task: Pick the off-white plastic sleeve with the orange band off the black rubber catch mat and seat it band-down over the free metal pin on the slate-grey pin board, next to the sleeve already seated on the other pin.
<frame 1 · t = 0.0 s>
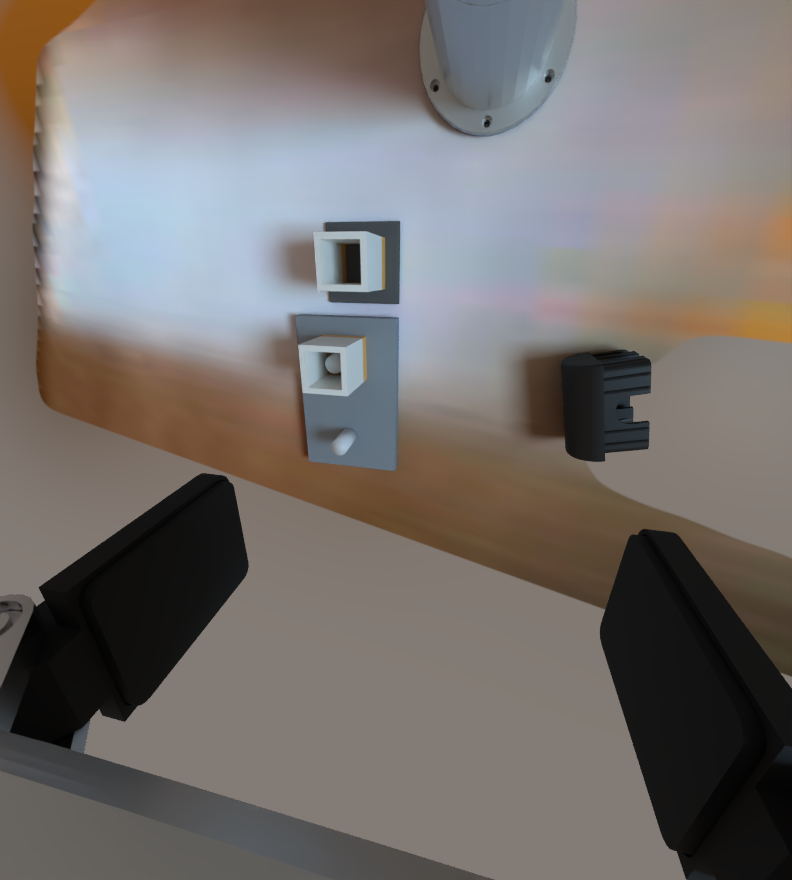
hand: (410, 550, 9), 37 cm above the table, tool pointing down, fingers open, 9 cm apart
catch mat: (363, 264, 41), on the table
seated sleeve: (346, 357, 44), point 1 cm above the table, touching pin board
pin board: (351, 394, 48), on the table
sleeve: (362, 264, 41), resting on catch mat
end cap: (591, 394, 42), on the table
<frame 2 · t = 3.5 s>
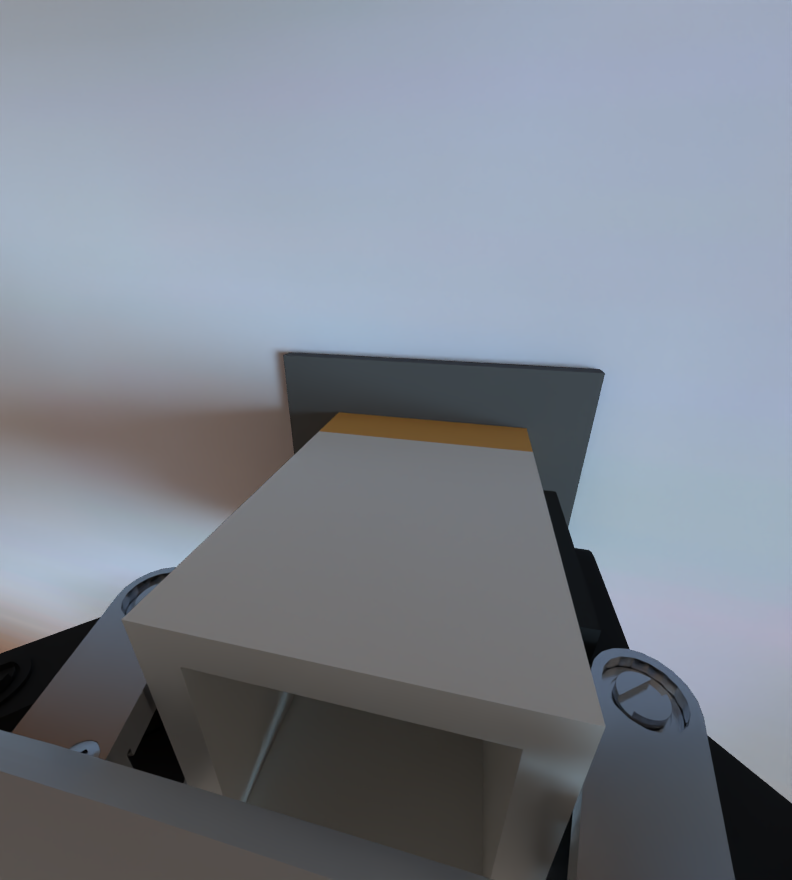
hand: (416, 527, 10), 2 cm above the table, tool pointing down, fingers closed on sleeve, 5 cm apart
catch mat: (426, 492, 11), on the table
sleeve: (424, 499, 11), resting on catch mat, touching gripper
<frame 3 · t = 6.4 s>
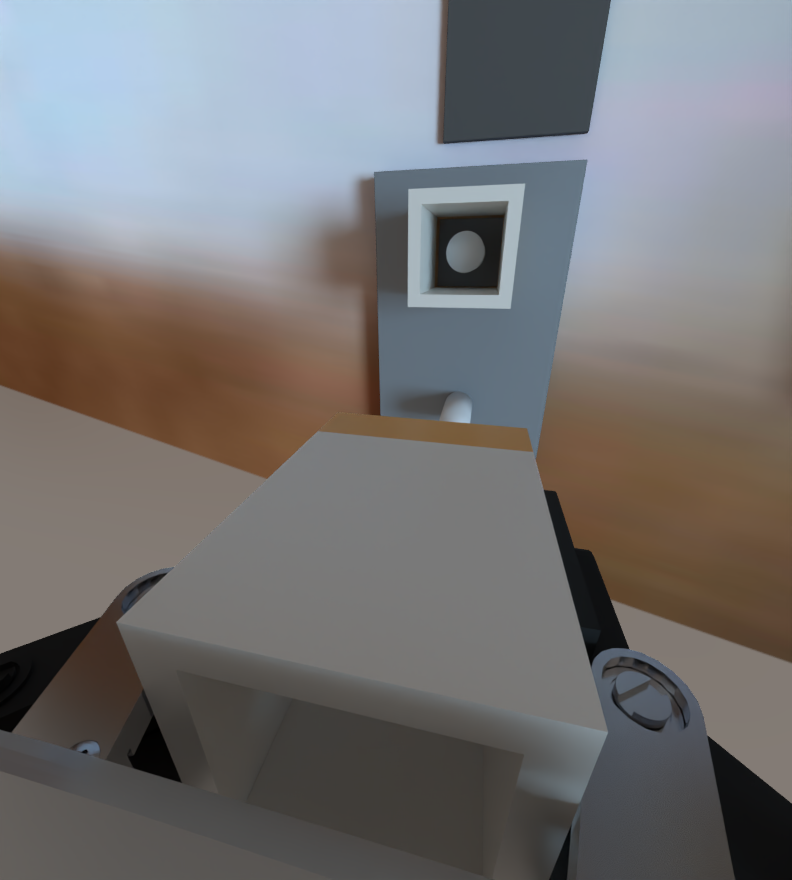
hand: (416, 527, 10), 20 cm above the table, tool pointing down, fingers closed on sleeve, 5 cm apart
catch mat: (522, 45, 20), on the table
seated sleeve: (468, 253, 24), point 1 cm above the table, touching pin board
pin board: (464, 331, 27), on the table
sleeve: (424, 500, 11), point 19 cm above the table, touching gripper
when the fingers open (4 cm above the table, at t = 9.6 s): sleeve drops 2 cm, resting on pin board.
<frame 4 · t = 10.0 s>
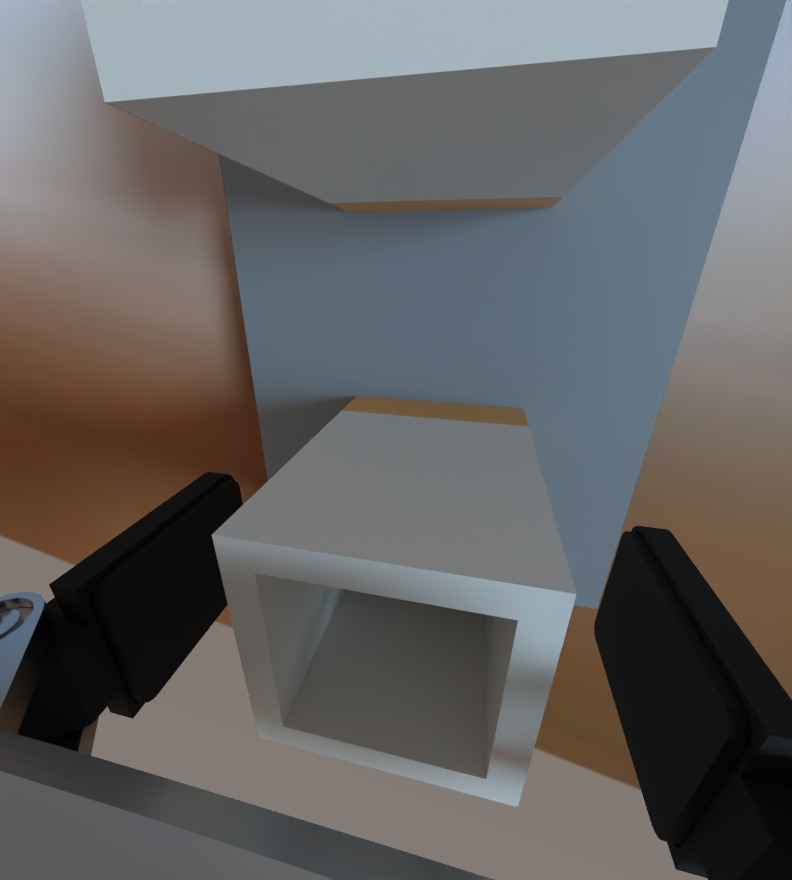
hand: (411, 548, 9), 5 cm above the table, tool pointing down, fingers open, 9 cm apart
seated sleeve: (452, 77, 8), point 1 cm above the table, touching pin board
pin board: (444, 311, 12), on the table
sleeve: (432, 474, 12), point 1 cm above the table, touching pin board
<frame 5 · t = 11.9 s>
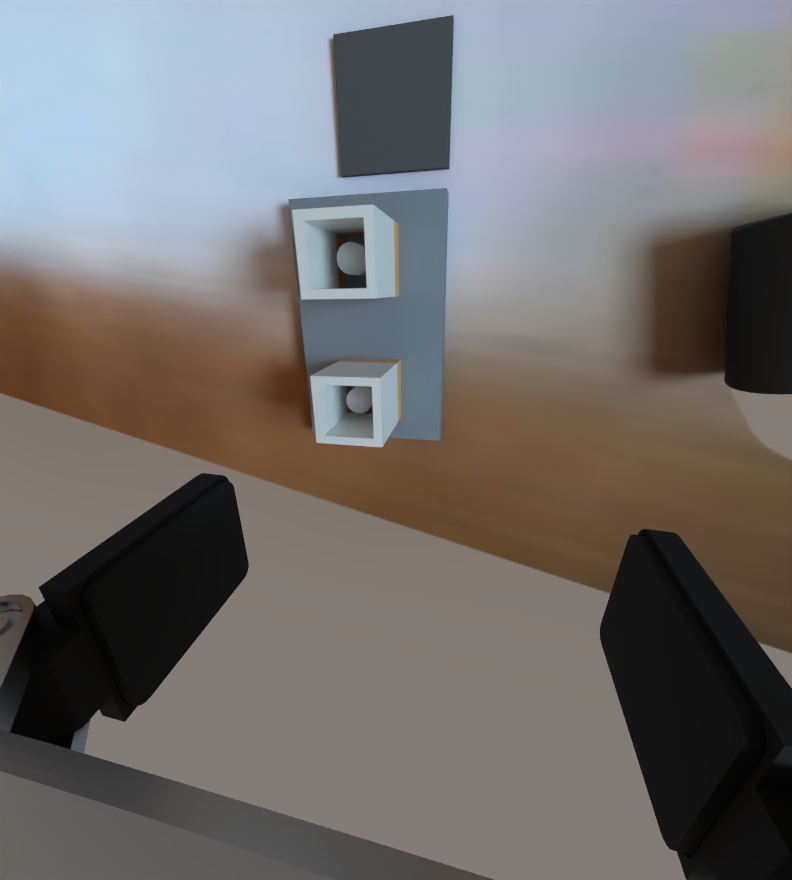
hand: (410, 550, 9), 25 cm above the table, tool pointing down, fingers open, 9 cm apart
catch mat: (393, 105, 26), on the table
seated sleeve: (366, 262, 29), point 1 cm above the table, touching pin board
pin board: (374, 327, 32), on the table
sleeve: (372, 388, 33), point 1 cm above the table, touching pin board
end cap: (760, 298, 26), on the table
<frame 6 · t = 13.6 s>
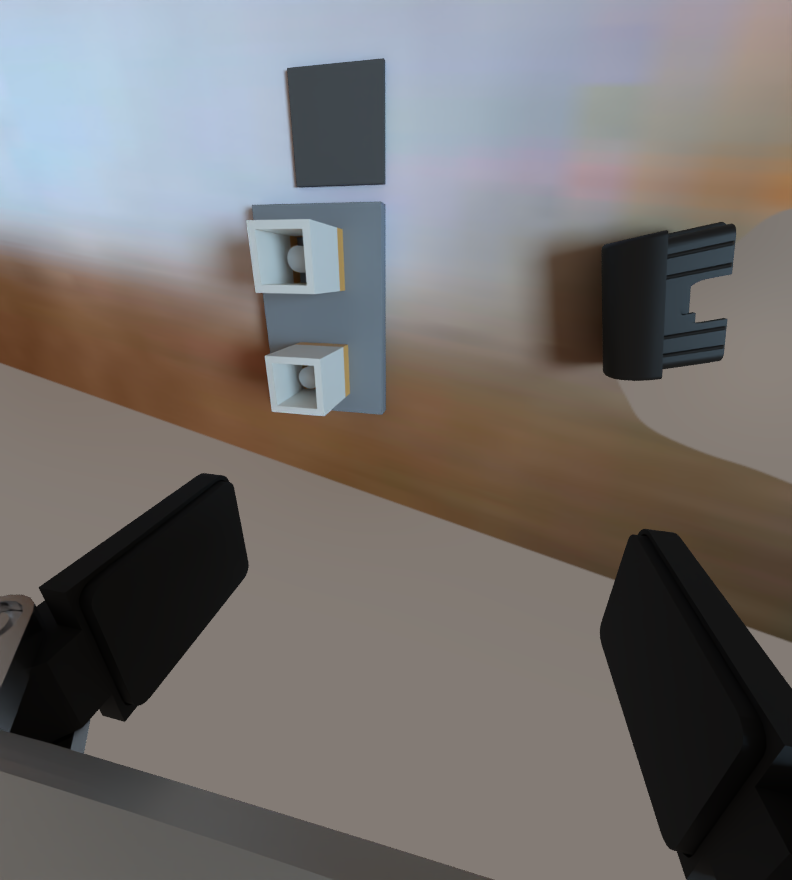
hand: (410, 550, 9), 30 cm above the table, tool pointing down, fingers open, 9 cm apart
catch mat: (338, 128, 31), on the table
seated sleeve: (317, 260, 35), point 1 cm above the table, touching pin board
pin board: (327, 316, 38), on the table
sleeve: (325, 368, 39), point 1 cm above the table, touching pin board
end cap: (636, 301, 32), on the table
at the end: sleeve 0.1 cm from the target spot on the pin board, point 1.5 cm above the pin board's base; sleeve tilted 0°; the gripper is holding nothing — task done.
